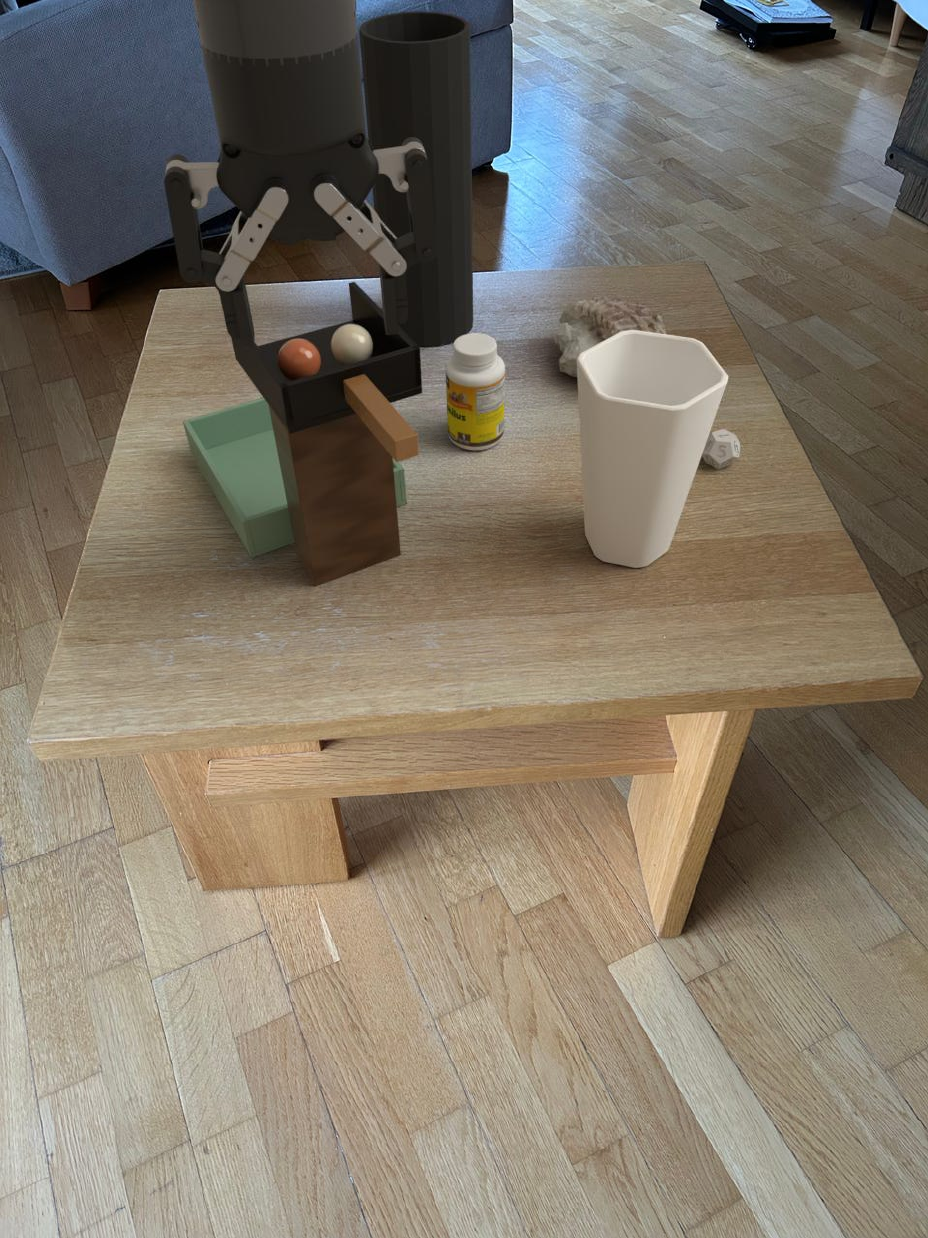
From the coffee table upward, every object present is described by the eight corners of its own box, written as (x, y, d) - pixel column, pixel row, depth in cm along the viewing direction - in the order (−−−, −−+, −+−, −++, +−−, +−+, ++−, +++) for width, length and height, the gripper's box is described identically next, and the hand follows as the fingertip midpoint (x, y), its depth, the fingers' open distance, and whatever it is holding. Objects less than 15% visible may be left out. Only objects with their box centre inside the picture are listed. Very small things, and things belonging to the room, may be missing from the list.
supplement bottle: (439, 428, 95) (435, 335, 88) (490, 415, 97) (490, 322, 89) (460, 459, 92) (458, 364, 84) (513, 445, 93) (515, 351, 86)
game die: (742, 471, 90) (749, 445, 87) (704, 474, 89) (709, 448, 87) (730, 449, 92) (736, 423, 90) (693, 452, 92) (698, 426, 90)
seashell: (526, 323, 104) (582, 245, 98) (586, 345, 110) (642, 273, 104) (581, 413, 96) (645, 335, 90) (641, 431, 102) (705, 359, 96)
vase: (373, 341, 107) (344, 39, 86) (398, 298, 114) (377, 8, 92) (461, 351, 105) (455, 45, 84) (482, 307, 112) (481, 13, 91)
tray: (251, 558, 82) (242, 522, 79) (191, 455, 93) (182, 420, 90) (407, 503, 87) (404, 468, 84) (334, 411, 98) (329, 377, 95)
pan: (336, 500, 59) (329, 452, 56) (235, 359, 71) (226, 314, 68) (477, 452, 62) (477, 405, 60) (358, 325, 74) (354, 280, 71)
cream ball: (343, 379, 67) (338, 341, 65) (326, 360, 69) (321, 322, 67) (381, 368, 68) (378, 330, 66) (364, 349, 70) (360, 311, 68)
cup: (699, 516, 85) (736, 343, 73) (682, 592, 78) (719, 416, 66) (577, 493, 88) (592, 323, 75) (550, 565, 81) (562, 391, 69)
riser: (315, 586, 80) (282, 402, 67) (297, 558, 82) (262, 375, 69) (401, 554, 82) (385, 371, 69) (381, 528, 85) (363, 347, 72)
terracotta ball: (290, 395, 66) (283, 357, 64) (274, 375, 68) (268, 337, 66) (330, 383, 67) (325, 345, 65) (314, 363, 69) (308, 325, 67)
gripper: (119, 61, 42) (198, 380, 54) (436, 40, 44) (446, 355, 55) (133, 15, 48) (203, 315, 59) (416, -3, 49) (429, 294, 61)
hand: (320, 334), depth 57 cm, fingers open, 8 cm apart
